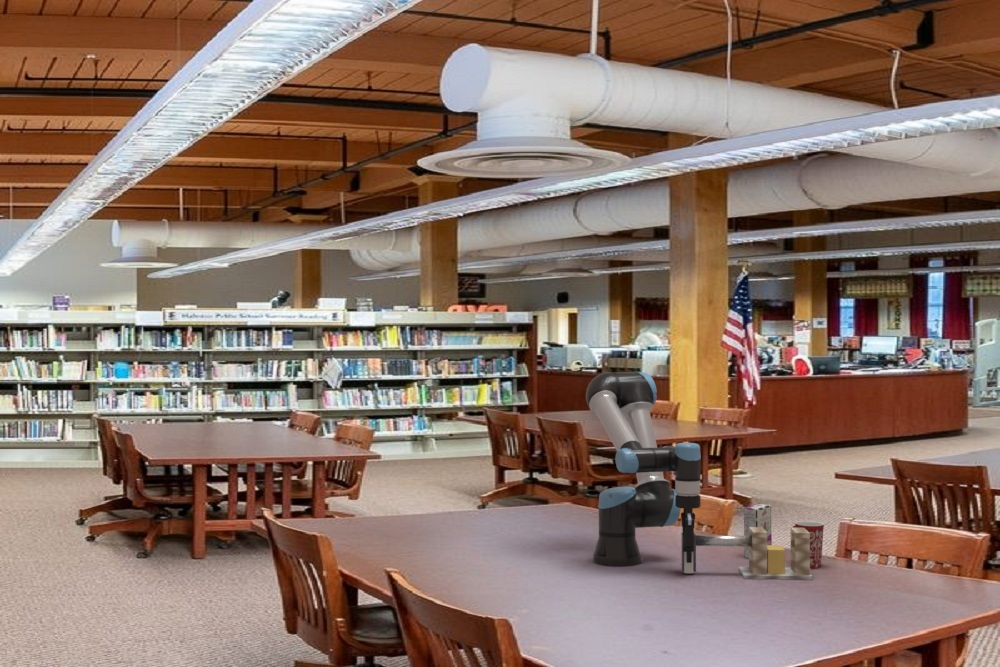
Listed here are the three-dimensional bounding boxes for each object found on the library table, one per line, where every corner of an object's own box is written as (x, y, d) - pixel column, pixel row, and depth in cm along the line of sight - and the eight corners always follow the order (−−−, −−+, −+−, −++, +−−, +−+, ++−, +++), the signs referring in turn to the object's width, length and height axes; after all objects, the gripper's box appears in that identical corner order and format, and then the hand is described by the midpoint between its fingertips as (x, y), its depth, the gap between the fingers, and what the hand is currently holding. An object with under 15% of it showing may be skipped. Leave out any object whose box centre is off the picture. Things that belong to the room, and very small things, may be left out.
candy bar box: (758, 552, 394) (758, 503, 394) (772, 554, 391) (772, 504, 391) (743, 558, 385) (743, 507, 385) (757, 559, 382) (757, 508, 382)
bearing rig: (743, 578, 353) (743, 533, 353) (738, 570, 365) (738, 526, 366) (812, 579, 351) (812, 533, 351) (804, 570, 364) (804, 526, 364)
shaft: (682, 571, 358) (682, 534, 358) (681, 568, 362) (681, 532, 362) (763, 572, 357) (763, 535, 357) (761, 569, 361) (761, 533, 361)
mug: (830, 567, 369) (830, 524, 369) (806, 569, 366) (806, 526, 366) (805, 560, 381) (805, 518, 381) (781, 562, 377) (781, 520, 377)
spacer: (767, 573, 355) (767, 549, 355) (764, 568, 362) (764, 545, 362) (784, 574, 354) (784, 549, 354) (780, 569, 362) (780, 545, 362)
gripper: (703, 498, 351) (703, 577, 351) (697, 490, 369) (698, 566, 369) (677, 498, 352) (677, 577, 352) (673, 490, 369) (673, 565, 369)
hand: (688, 571), depth 360 cm, fingers closed on shaft, 4 cm apart
